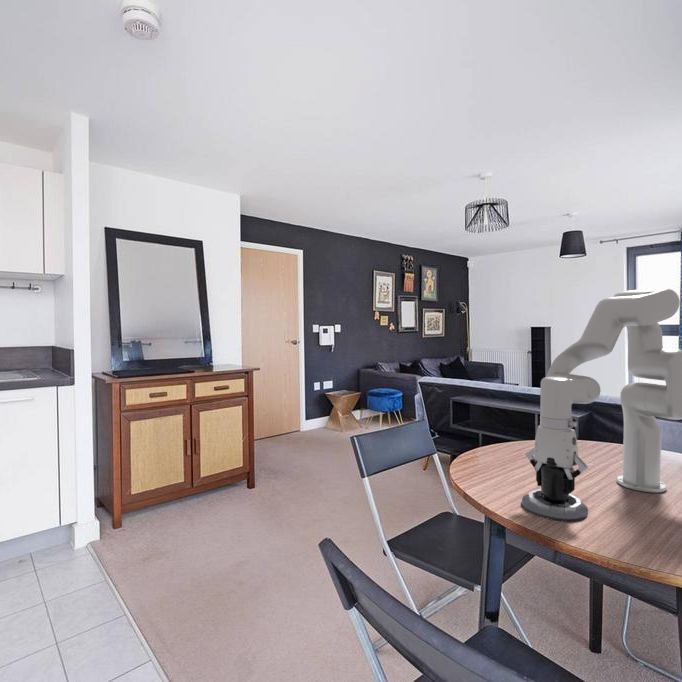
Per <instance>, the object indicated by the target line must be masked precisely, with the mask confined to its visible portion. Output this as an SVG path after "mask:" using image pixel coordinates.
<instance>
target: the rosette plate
mask: <svg viewBox="0 0 682 682" xmlns="http://www.w3.org/2000/svg"><path fill="white" fill-rule="evenodd" d="M521 505H522V507H523V508H524V510H526V511H527V512H529V513H530V514H532V513H533V515H535V516H537V515H538V516H537V517H540V516H541V517H540V518H543V517H544V519H547V518H548V520H551V519H552V520H551V521H558V522H578V521H581V520H582V521H583V520H584V519H586V518H587V517H588V515H589V508H588V506H587V505H586V504H585V503H583V502H582V501H581V499H580V498H579V497H577V496H575V495H573V494H571V493H570V494H569V501H568V502H567V503H565V504H553V503H549V502H546V501H544V500H543V499H542V497H541V488H539V489H533V490H531V491H528V494H527V493H526V494H525V495H523V496H522V498H521Z"/></svg>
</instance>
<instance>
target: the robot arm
mask: <svg viewBox="0 0 682 682" xmlns="http://www.w3.org/2000/svg"><path fill="white" fill-rule="evenodd" d="M680 303H681V302H680V298H679V295H678V293H677V292H676V291H674V289H671V288H668V287H667V288H665V287H664V288H649V289H646V288H645V289H634V290H633V289H632V290H631V289H630V290H624V291H620V292H618V293H615V294H614V295H613V296H612V297H606V298H603V299H601V300H600V301H598V303H597V305H596V306H595V308H594V311H593V312H592V314H591V315H590V316H591V317H590V319H589V320H588V322H587V324H586V326H585V328H584V330H583V333H582V335H581V337H580V338H579V339H578V340H576V341H575V342H574V343H573V344H571V345H570V346H568V347H567V348H566V349H564V350H563V351H562V352H561V353H559V355H557V357H555V358H554V359H553V361H552V363H551V365H550V367H549V369H548V371H547V373H546V375H545V377H543V378H541V380H540V399H539V400H540V402H539V403H540V405H539V406H540V407H539V408H540V410H539V411H540V416H539V420H540V421H539V425H538V426H537V429H536V432H535V438H534V446H533V448H532V449H531V450H529V451H527V452H526V453H525V456H526V458H527V459H528V461H529V463H530V464H531V465H532V467H533V469H534V471H535V479H536V486H537V487H541V467H542V465H543V464H547V463H546V462H547V457H549V458H554V459H555V463H556V464H557V465H555V466H557V467H560V468H564V470H565V473H566V475H567V479H566V480H565V493H566V494H571V493H573V492H574V491H575V484H576V483H575V481H576V480H575V479H576V478H577V477H578V476H580V475H581V474H582V473H583V472H585V471H586V470H587V469H588V468H589V467H588V465H587V464H586V463H585V462H584V461H583V460H582V458H580V457H579V449H578V441H577V434H576V431H575V429H573V428H577V426H578V422H577V421H573V418H572V405H573V404H579V405H581V404H583V405H587V404H593V403H594V402H595V401H596V400H597V399H598V398H599V397H600V395H601V384H600V383H599V382H598V381H597V380H596V379H594V378H593V377H590V376H586V375H579V374H572V371H573V370H575V369H576V368H577V367H579V366H581V365H582V364H584V363H587V362H590V361H592V360H593V361H594V360H596V359H599V358H602V357H605V356H608V355H609V354H611V353H612V352H613V351H614V348H615V346H616V344H617V341H618V339H619V337H620V334H621V333H622V332H623V329H624V328H625V327H626V329H627V333H628V346H627V347H628V350H627V369H628V370H627V371H628V372H629V374H630V375H632V376H633V377H635V378H639V379H644V380H645V379H647V380H654V381H663V382H665V384H657V383H647V382H640V381H639V382H630V383H628V384H626V385H625V386H624V387H622V389H621V392H620V403H621V409H622V415H623V440H622V441H623V442H622V443H623V445H622V446H623V447H622V449H623V450H622V451H623V453H622V454H623V455H622V474H621V475H618V476H616V482H617V484H619V485H621V486H622V487H624V488H628V489H630V490H634V491H638V492H645V493H653V494H654V493H663V492H666V491H667V484H666V483H664V482H663V481H661V464H662V463H661V462H662V461H661V460H662V459H661V458H662V428H661V425H660V423H659V422H658V420H657V418H661V419H668V420H675V421H678V420H682V349H679V348H668V347H667V348H666V347H664V346H663V345H664V344H663V330H662V328H661V326H660V324H659V323H660V322H663V321H665V320H668V319H670V318H672V317H674V316H675V314H676V313H677V312H678V310H679V308H680V305H681V304H680ZM656 417H657V418H656ZM575 466H578V468H577V469H576V470H575V469H574V468H575Z"/></svg>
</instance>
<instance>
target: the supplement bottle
mask: <svg viewBox="0 0 682 682" xmlns="http://www.w3.org/2000/svg"><path fill="white" fill-rule="evenodd" d="M546 463H547V464H543V465H542V467H541V486H540V489H541V497H542V499H543V500H544V501H546V502H549V503H553V504H565V503H567V502H568V501H569V494H566V493H565V480H566V479H567V475H566V473H565V470H564V468H560V467H557V466H555V465H557V464H556V463H555V459H554V458H549V457H547V462H546Z"/></svg>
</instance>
